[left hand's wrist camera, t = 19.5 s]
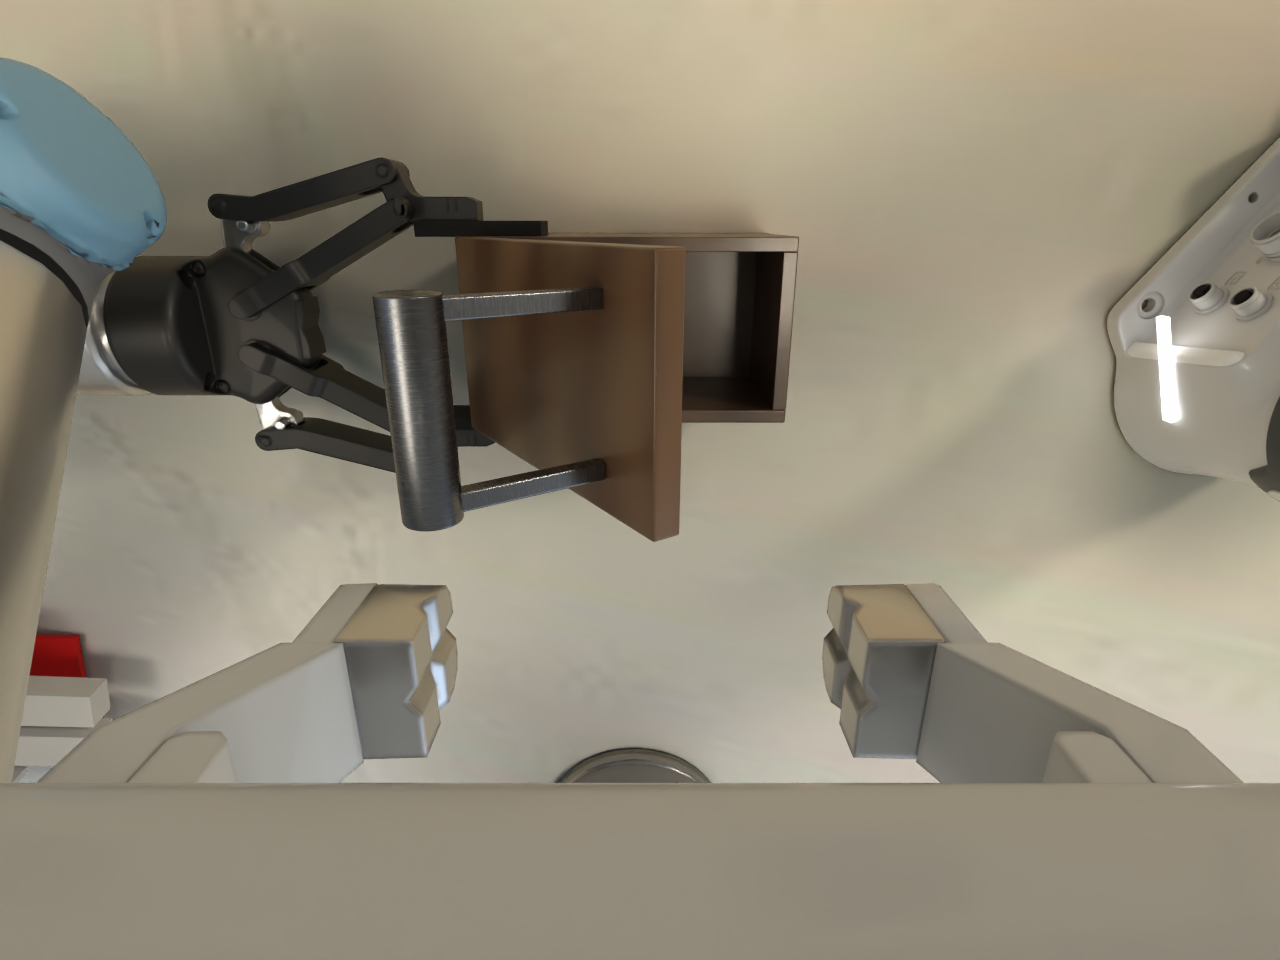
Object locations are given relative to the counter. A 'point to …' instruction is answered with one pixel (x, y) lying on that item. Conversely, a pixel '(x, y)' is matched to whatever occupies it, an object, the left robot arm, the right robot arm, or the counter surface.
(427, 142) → the counter surface
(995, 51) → the counter surface
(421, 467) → the lid
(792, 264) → the chest
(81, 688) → the toy
